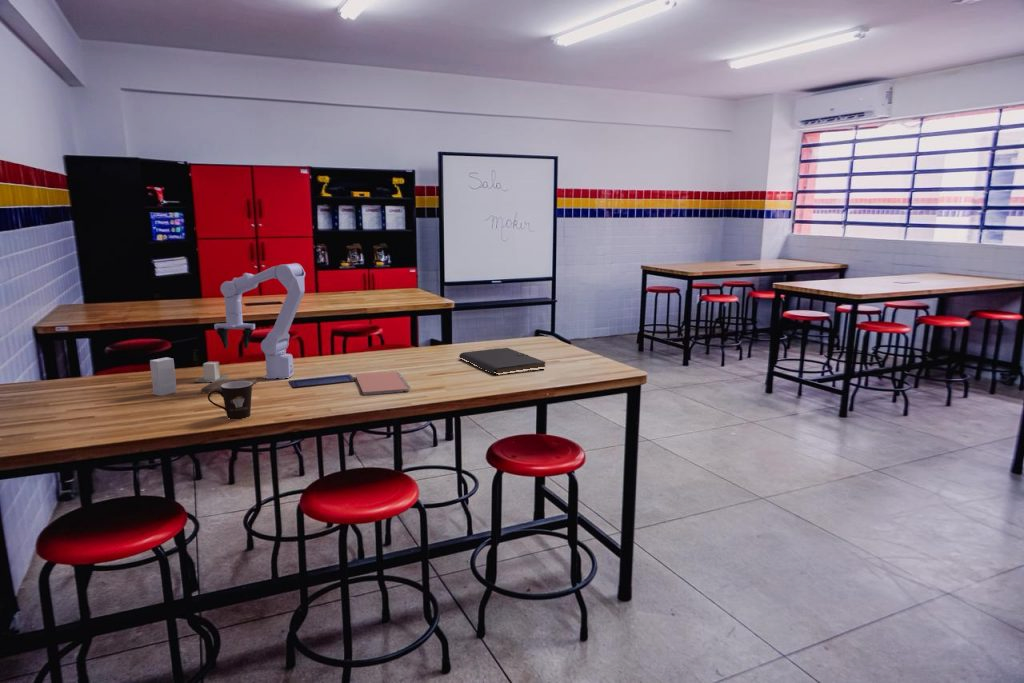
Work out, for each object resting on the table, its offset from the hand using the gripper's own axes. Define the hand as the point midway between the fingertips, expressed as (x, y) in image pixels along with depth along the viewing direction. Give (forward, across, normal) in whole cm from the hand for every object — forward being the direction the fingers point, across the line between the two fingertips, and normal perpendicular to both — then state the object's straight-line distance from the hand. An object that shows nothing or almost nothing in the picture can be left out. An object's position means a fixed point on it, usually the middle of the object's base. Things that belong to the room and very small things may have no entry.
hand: (236, 347), depth 239 cm
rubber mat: (+10, -6, -9) cm, 15 cm away
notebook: (+11, +58, -15) cm, 61 cm away
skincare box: (+11, -14, -28) cm, 33 cm away
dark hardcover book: (+11, +102, +18) cm, 105 cm away
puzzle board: (+10, +5, -21) cm, 24 cm away
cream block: (+10, -6, -9) cm, 15 cm away
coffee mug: (+11, +19, -54) cm, 58 cm away
